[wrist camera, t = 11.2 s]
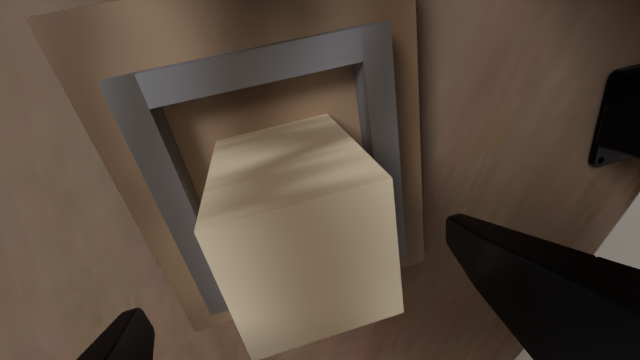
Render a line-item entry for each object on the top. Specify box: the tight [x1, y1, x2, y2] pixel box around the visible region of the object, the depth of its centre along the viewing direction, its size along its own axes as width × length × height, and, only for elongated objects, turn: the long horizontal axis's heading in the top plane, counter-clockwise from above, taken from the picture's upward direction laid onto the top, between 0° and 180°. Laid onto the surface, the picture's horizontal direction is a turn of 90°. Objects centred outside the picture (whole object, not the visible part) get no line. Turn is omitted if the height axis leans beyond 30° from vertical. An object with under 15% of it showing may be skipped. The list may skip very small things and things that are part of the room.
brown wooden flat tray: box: [25, 0, 424, 332], centre depth 15 cm, size 14×16×4 cm
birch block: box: [194, 114, 404, 360], centre depth 12 cm, size 5×5×7 cm
